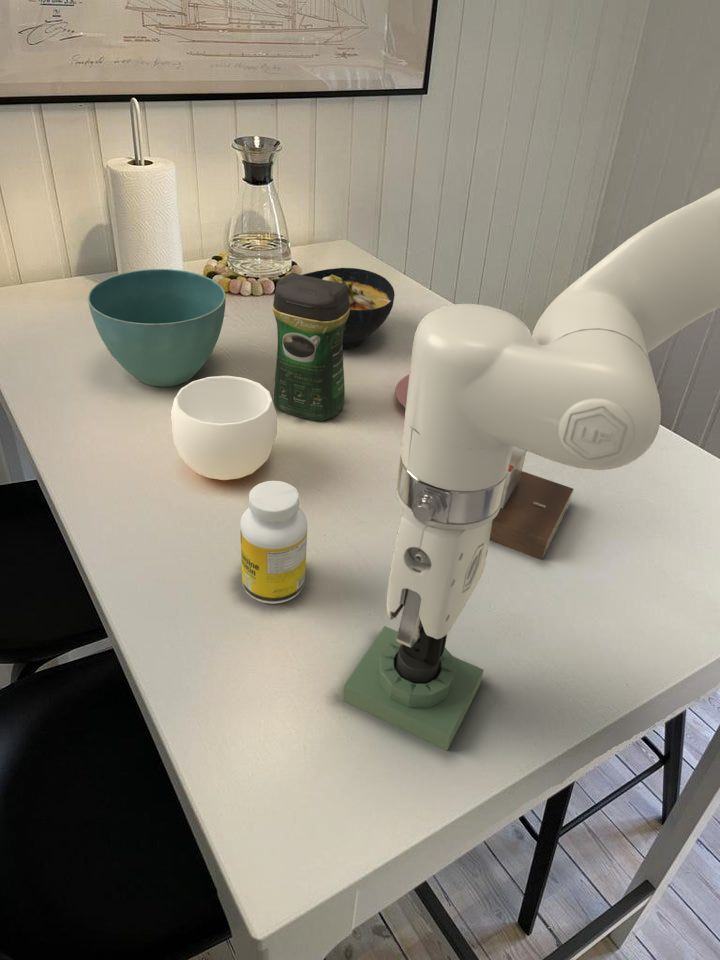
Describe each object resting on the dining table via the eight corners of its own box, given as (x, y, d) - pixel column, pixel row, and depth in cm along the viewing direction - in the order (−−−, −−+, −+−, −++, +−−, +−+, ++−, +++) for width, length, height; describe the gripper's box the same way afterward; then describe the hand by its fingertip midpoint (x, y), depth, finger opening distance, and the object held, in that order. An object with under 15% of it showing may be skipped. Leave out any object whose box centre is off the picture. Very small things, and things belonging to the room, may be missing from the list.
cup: (192, 507, 86) (187, 437, 80) (163, 450, 95) (156, 382, 89) (292, 483, 91) (293, 415, 85) (255, 431, 100) (255, 366, 94)
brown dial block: (567, 508, 91) (574, 487, 89) (541, 560, 83) (547, 539, 81) (460, 470, 96) (464, 450, 94) (425, 517, 88) (429, 495, 86)
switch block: (480, 685, 69) (487, 656, 66) (446, 752, 63) (453, 723, 61) (382, 641, 72) (386, 612, 70) (342, 701, 66) (344, 671, 64)
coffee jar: (350, 401, 107) (360, 276, 96) (329, 428, 101) (336, 298, 90) (289, 385, 110) (291, 261, 99) (264, 410, 104) (264, 282, 93)
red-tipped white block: (503, 476, 90) (511, 440, 87) (519, 482, 89) (528, 445, 86) (485, 502, 86) (494, 465, 83) (502, 508, 85) (511, 471, 82)
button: (444, 661, 66) (446, 648, 65) (427, 690, 63) (430, 677, 62) (407, 644, 67) (409, 631, 66) (389, 672, 65) (391, 659, 64)
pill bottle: (246, 560, 80) (243, 472, 73) (307, 563, 80) (310, 476, 73) (237, 605, 74) (234, 515, 68) (303, 608, 75) (306, 519, 68)
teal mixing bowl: (245, 392, 107) (244, 312, 100) (115, 415, 100) (103, 331, 93) (206, 337, 120) (202, 263, 113) (88, 355, 113) (76, 276, 105)
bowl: (408, 336, 126) (415, 278, 120) (351, 374, 114) (355, 312, 108) (326, 307, 133) (328, 251, 127) (263, 340, 121) (263, 280, 115)
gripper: (461, 561, 47) (427, 738, 57) (533, 447, 57) (493, 614, 68) (354, 520, 49) (342, 697, 60) (442, 418, 60) (418, 583, 71)
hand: (422, 652), depth 64 cm, fingers closed
